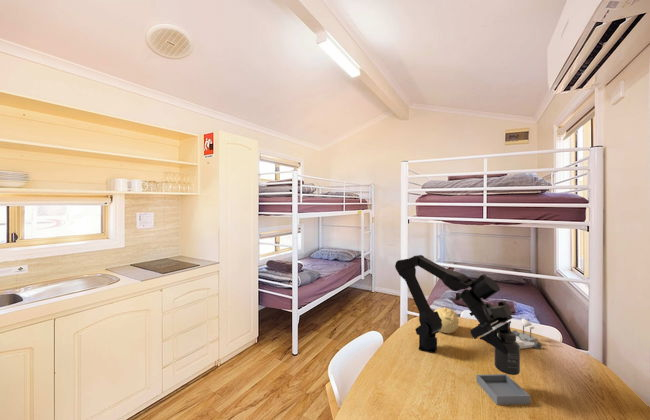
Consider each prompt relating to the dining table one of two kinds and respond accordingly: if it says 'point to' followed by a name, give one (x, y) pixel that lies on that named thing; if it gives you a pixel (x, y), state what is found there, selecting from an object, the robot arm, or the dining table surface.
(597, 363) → the dining table surface
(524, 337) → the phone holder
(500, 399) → the holder tray
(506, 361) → the supplement bottle
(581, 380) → the dining table surface
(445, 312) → the sculpture
